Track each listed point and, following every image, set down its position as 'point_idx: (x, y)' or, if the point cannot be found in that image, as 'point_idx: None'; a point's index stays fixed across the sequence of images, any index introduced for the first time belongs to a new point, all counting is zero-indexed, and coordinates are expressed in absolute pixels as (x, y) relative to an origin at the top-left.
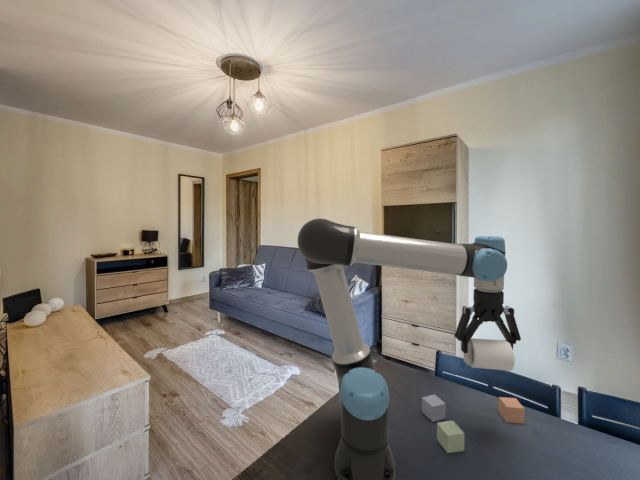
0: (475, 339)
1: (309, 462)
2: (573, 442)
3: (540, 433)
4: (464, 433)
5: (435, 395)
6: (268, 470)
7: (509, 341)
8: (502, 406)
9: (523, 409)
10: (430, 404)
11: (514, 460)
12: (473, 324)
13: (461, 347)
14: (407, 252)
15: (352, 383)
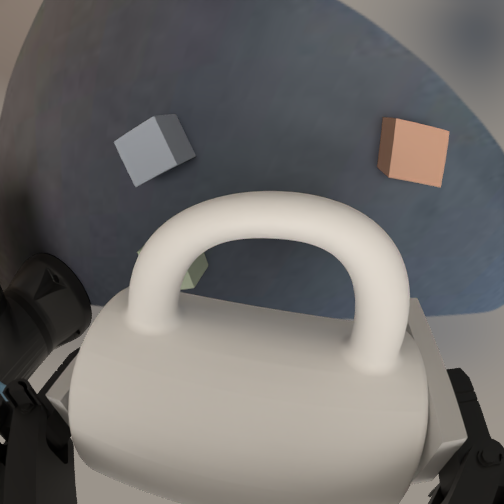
0: (111, 473)
1: (9, 278)
2: (480, 242)
3: (436, 213)
4: (194, 287)
5: (155, 122)
6: None
7: (441, 481)
8: (388, 145)
9: (436, 185)
10: (131, 175)
11: (309, 290)
12: None
13: (63, 370)
14: None
15: None
